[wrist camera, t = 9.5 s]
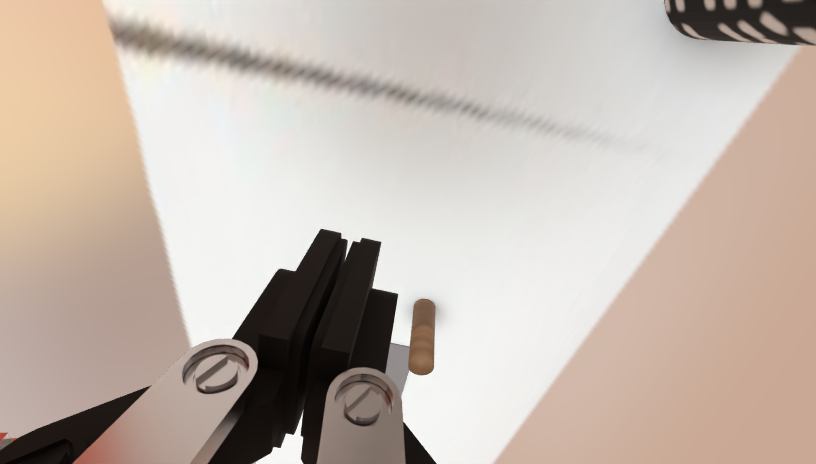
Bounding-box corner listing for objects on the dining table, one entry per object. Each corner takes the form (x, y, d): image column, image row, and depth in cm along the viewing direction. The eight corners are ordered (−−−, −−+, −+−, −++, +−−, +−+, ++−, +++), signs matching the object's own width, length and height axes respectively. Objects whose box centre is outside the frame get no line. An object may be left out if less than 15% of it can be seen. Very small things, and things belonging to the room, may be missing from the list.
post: (416, 296, 45) (411, 354, 37) (437, 301, 45) (436, 360, 37) (411, 313, 46) (405, 372, 38) (432, 317, 46) (430, 377, 38)
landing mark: (310, 325, 49) (309, 327, 48) (415, 348, 49) (415, 349, 49) (302, 394, 55) (302, 395, 55) (395, 413, 56) (395, 414, 56)
